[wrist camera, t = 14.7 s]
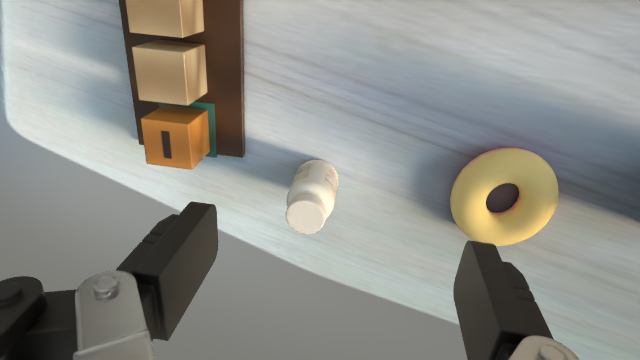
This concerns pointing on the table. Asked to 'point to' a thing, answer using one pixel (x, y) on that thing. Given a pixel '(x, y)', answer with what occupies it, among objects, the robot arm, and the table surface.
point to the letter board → (217, 67)
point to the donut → (495, 170)
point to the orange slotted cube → (176, 136)
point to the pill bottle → (311, 196)
